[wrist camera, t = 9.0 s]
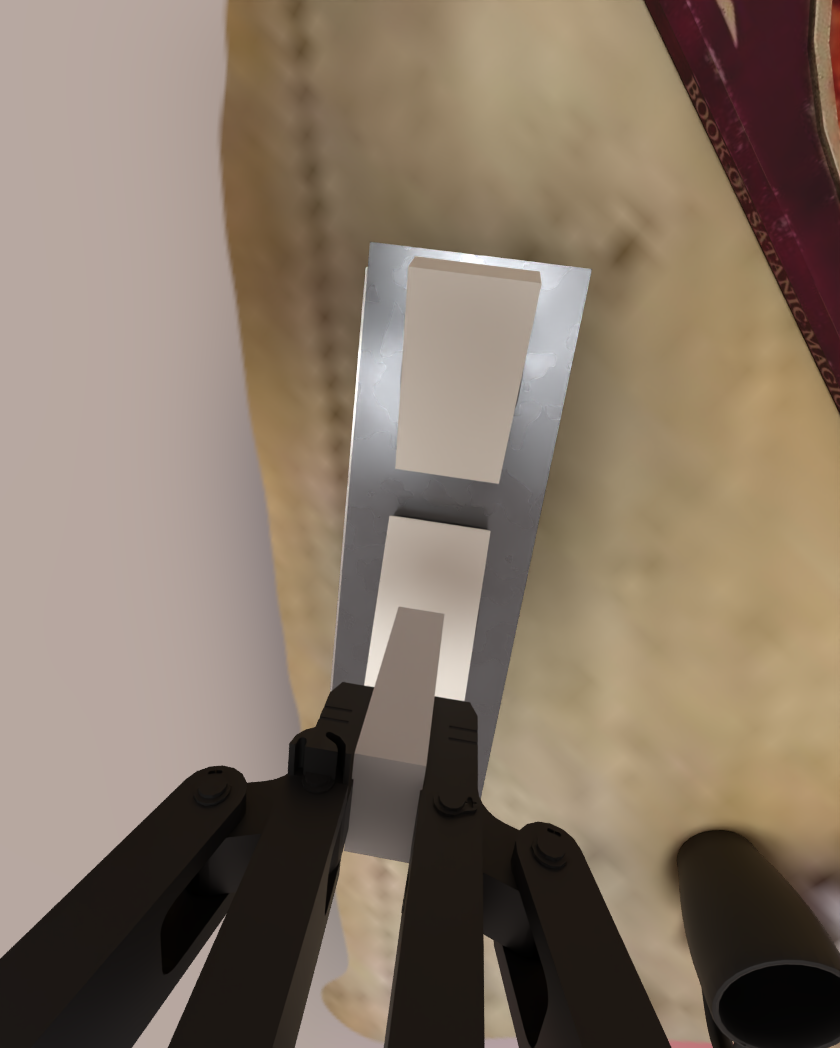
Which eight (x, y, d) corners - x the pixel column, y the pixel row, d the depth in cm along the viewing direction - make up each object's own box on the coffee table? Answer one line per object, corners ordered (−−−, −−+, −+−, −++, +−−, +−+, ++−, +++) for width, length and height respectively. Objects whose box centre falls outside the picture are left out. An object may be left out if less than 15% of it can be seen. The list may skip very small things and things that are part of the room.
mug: (625, 916, 42) (666, 1072, 33) (682, 803, 38) (746, 944, 29) (728, 943, 42) (797, 1107, 33) (795, 831, 38) (895, 983, 29)
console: (384, 259, 29) (365, 241, 24) (572, 282, 28) (591, 269, 23) (337, 760, 40) (318, 815, 35) (471, 784, 39) (471, 844, 34)
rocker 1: (417, 248, 22) (405, 266, 20) (541, 264, 22) (544, 283, 20) (403, 437, 28) (393, 468, 25) (501, 451, 28) (500, 484, 25)
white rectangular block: (394, 515, 29) (387, 515, 26) (488, 529, 29) (492, 531, 26) (370, 675, 29) (360, 694, 26) (463, 691, 29) (464, 712, 26)
